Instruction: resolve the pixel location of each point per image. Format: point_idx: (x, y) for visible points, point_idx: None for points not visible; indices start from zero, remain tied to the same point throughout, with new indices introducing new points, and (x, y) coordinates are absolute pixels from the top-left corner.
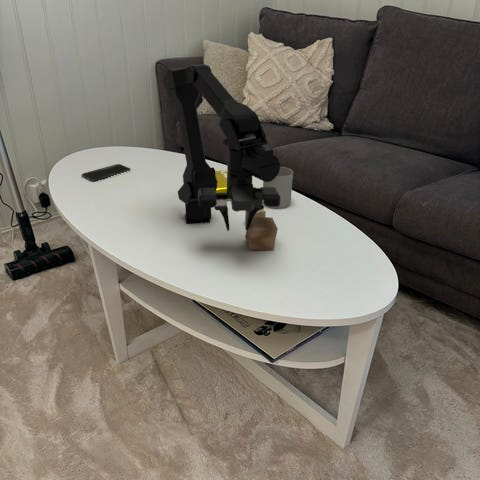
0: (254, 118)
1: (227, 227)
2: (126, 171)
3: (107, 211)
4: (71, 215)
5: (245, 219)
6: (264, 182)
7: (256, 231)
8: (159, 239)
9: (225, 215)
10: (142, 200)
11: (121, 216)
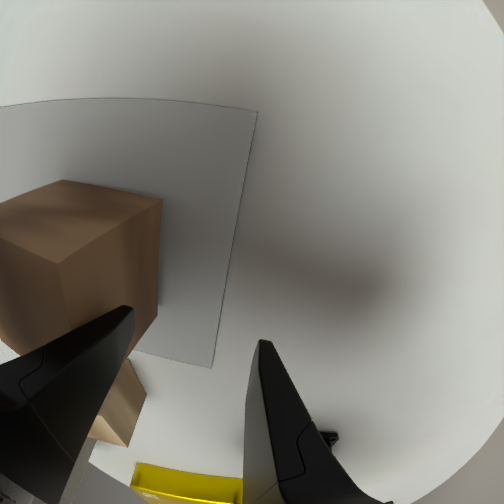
0: None
1: (273, 358)
2: None
3: (438, 458)
4: (482, 442)
5: (140, 409)
6: (74, 479)
7: (59, 236)
8: (448, 379)
9: (306, 462)
10: (362, 485)
11: (434, 450)
